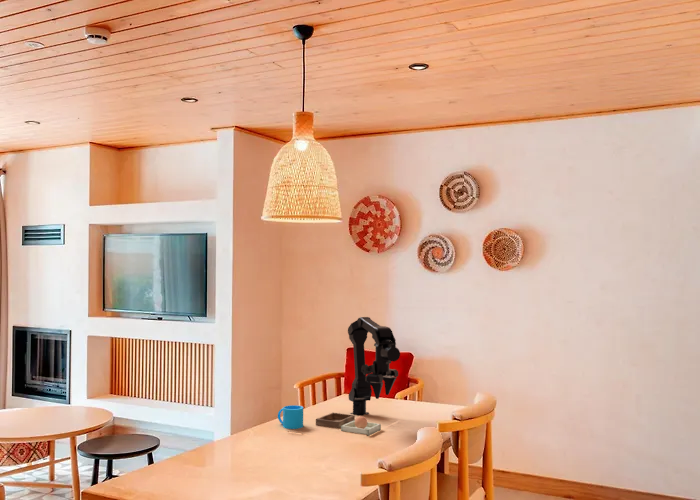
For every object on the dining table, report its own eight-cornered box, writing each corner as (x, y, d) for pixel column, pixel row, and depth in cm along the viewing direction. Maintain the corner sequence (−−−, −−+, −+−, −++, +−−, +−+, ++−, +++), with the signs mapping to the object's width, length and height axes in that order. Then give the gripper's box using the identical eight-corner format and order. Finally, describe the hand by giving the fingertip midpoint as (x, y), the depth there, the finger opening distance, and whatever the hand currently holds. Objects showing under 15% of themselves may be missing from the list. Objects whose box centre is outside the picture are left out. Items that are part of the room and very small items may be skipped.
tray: (354, 426, 251) (354, 420, 251) (380, 430, 245) (380, 423, 245) (340, 432, 241) (340, 426, 241) (368, 436, 235) (368, 430, 235)
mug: (307, 427, 249) (307, 407, 249) (294, 431, 242) (294, 410, 242) (284, 423, 255) (284, 403, 256) (271, 427, 249) (271, 406, 249)
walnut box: (332, 419, 262) (332, 412, 262) (354, 422, 257) (354, 415, 257) (315, 426, 250) (315, 419, 250) (338, 429, 245) (338, 422, 245)
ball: (358, 427, 246) (358, 414, 247) (369, 428, 244) (369, 415, 244) (352, 429, 242) (352, 416, 242) (363, 431, 240) (363, 418, 240)
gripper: (375, 354, 264) (374, 391, 263) (354, 359, 247) (353, 398, 247) (398, 356, 258) (398, 393, 258) (379, 361, 242) (378, 401, 241)
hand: (382, 396), depth 251 cm, fingers open, 9 cm apart
